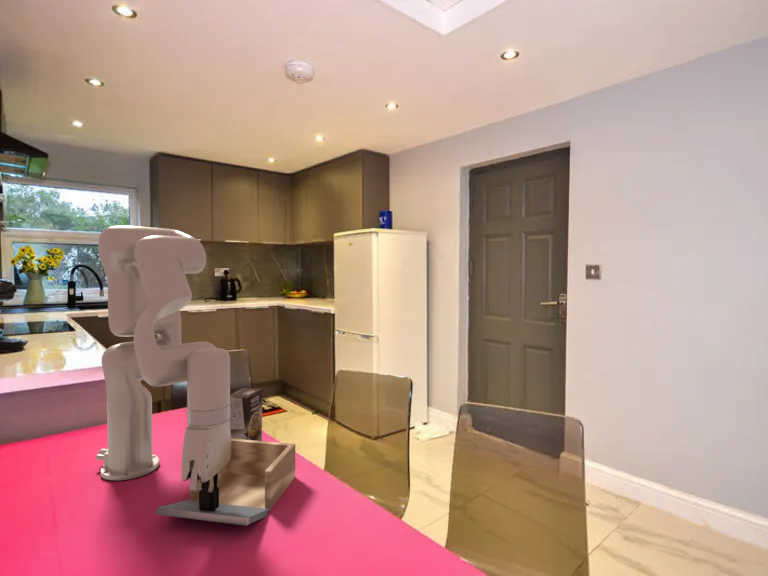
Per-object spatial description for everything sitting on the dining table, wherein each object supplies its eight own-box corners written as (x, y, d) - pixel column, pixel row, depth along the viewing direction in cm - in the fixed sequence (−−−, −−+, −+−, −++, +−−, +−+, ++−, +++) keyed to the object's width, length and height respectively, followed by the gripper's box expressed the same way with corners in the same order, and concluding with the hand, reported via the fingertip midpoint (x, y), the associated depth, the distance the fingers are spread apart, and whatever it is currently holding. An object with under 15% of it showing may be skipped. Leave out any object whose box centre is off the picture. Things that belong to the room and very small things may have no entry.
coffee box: (246, 458, 114) (246, 397, 113) (224, 455, 115) (224, 396, 115) (263, 444, 123) (263, 388, 122) (242, 442, 124) (242, 386, 124)
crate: (190, 505, 91) (189, 463, 91) (224, 474, 105) (224, 437, 105) (270, 514, 88) (270, 471, 88) (295, 481, 102) (295, 443, 102)
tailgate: (188, 505, 91) (156, 514, 81) (189, 499, 91) (157, 507, 81) (269, 515, 88) (245, 525, 78) (269, 508, 88) (247, 517, 78)
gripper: (212, 400, 89) (212, 487, 90) (165, 427, 75) (165, 530, 76) (246, 403, 88) (245, 490, 89) (205, 430, 73) (205, 535, 74)
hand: (209, 508), depth 82 cm, fingers closed
